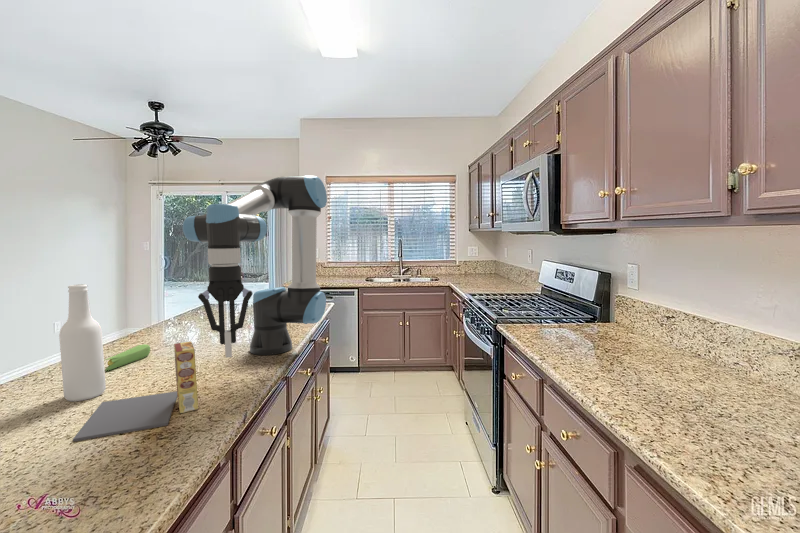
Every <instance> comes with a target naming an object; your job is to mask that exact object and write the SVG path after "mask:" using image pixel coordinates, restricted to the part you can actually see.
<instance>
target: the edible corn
mask: <svg viewBox="0 0 800 533" xmlns="http://www.w3.org/2000/svg"><path fill="white" fill-rule="evenodd" d="M150 353H151V346H150V345H149V344H144V343H143V344H138V345H135V346H134V347H132V348H130V349H126V350H124V351H122V352H119V353H118V354H115V355H112V356H110V357H108V358H104V361H106V360H108V361H107V367H106V368H104V369H105V372H106V373H107V372H109V370H110V371H112V370H114V369H117V367H118V368H121V367H124V366H126V365H128V363H129V364H131V363H134V362H136V360H137V361H140V360H143V359H145V358H147V357H148V356H149V355H150ZM146 356H147V357H146ZM144 357H145V358H144ZM139 359H140V360H139ZM120 366H121V367H120ZM107 370H108V371H107Z"/></svg>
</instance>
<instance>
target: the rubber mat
mask: <svg viewBox="0 0 800 533" xmlns="http://www.w3.org/2000/svg"><path fill="white" fill-rule="evenodd" d="M177 401H178V395H177V390H176V391H170V392H161V393H155V394H150V395H141V396H135V397H128V398H127V397H126V398H121V399H114V400H108V401H107V400H106V401H102V402H100V405H98V407H97V408H96V409H95V410H94V412H93V413H92V415H90V416H89V418H88V419H87V421H86V422H85V423H84V424H83V426H82V427H81V428H80V429H79V431H78V432H77V433H76V434H75V436H74V437H73V438H72V442H73V441H75V442H78V441H84V440H85V441H86V440H91V438H92V439H97V438H96V437H98V438H103V437H107V436H106V435H109V436H114V434H115V435H120V433H121V434H126V433H130V432H137V431H143V430H149V429H154V428H160V427H165V426H167V427H168V425H169V423H170V419H171V416H172V413H173V411H174V408H175V405H176V402H177ZM102 436H103V437H102Z"/></svg>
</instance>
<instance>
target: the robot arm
mask: <svg viewBox="0 0 800 533" xmlns="http://www.w3.org/2000/svg"><path fill="white" fill-rule="evenodd" d="M327 203H328V196H327V190H326V186H325V184H324V182H323V181H322V179H321V178H320V177H318V176H317V175H306V174H305V175H294V176H279V177H278V176H277V177H275V178H271V179H268V180H266V181H264V182H262V183H260V184H257V185H255V186H253V187H252V188H251V189H250V191H249V192H248V193H246V194H244V195H241V196H240V197H237V198H236V199H234V200H232V201H230V202H227V203H211V204H209V205H207V207H206V213H205V214H201V215H199V214H198V215H197V214H196V215H192V216H191V215H190V216H187V217H186V218H185V219H184V220H183V222H182V232H183V235H184V237H185V238H186V239H187V240H189V241H190V242H194V243H201V244H202V243H207V258H208V259H207V262H208V263H207V264H209V265H210V266H209V268H208V286H207V289H206V290H205V291H203V292H200V293H199V294H198V296H197V297H198V299H199V300H200V301H201V303H202V304H203V307H204V310H205V313H206V318H207V319H208V322H209V325H210V328H211V329H210V330H212V331H214V332H218V334H219V344H220V345H224V348H225V349H224V352H225V353H224V354H225V356H224V357H225V358H232V357H233V351H232V349H233V347H232V344H236V343H237V330H239V329H243V327H244V324H245V320H246V319H245V318H246V315H247V314H246V313H247V309H248V305H249V302H250V301H249V300H250V299H251V297H252V296H253V297H252V308H253V310H252V312H253V328H254V329H253V330H254V331H253V333H252V337H251V340H250V343H249V352H250V353H251V354H253V355H256V356H257V355H258V356H269V355H278V354H283V353H286V352H289V351H291V350H292V349H293V341H292V338H291V336H290V333H289V330H288V328H287V327H288V326H287V324H303V325H309V324H311V325H312V324H313V325H314V324H317V323H319V322H320V321H321V319H322V318H323V316H324V314H325V311H326V305H327V297H326V294H325V293H324V291H321V286H320V284H318V283H317V225H318V224H317V218H318V217H319V216H320V215H321V213H322V212H321V210H322V209H323V208H325V207H326V205H327ZM277 209H278V210H279V209H288V210H287V211H288V212H287V213H288V214H289V215H291V217H292V240H291V241H292V243H291V244H292V246H291V248H292V252H291V254H292V255H291V258H292V259H291V261H292V264H291V266H292V268H291V273H292V274H291V283H289V285H288V286H287V288H286V287H284V286H279V287H273V288H272V287H271V288H266V289H260V290H256V291H255V292H253V291H252V290H249V289H247V288H246V287H244V284H243V281H242V267H241V265H240V264H241V263H242V262H241V261H242V260H241V242H247V243H248V242H249V243H255V242H259V241H262V240H263V239H264V238H265V236H266V235H267V232H268V226H267V223H266V221H265V219H263V218H262V217H261V216H258V214H260V213H262V212H264V213H265V212H269V211H271V210H277ZM241 293H242V297H243V299H242V303H241V309H240V312H239V317H238V322H237V323H236V308H235V307H236V306H235V301H236V300H237V299H238V297H239V296H240V295H241ZM210 295H211V297H213V299H214V300H216V302H217V303H218V304H217V306H218V324H217V321H216V318H215V315H214V312H213V310H212V306H211V303H210V300H209V299H210ZM225 302H228V304H229V323H230V324H229V325H230V329H225V328H226V325H225Z"/></svg>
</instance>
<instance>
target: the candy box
mask: <svg viewBox="0 0 800 533" xmlns="http://www.w3.org/2000/svg"><path fill="white" fill-rule="evenodd" d="M193 344H194V343H192V341H185V342H178V343H173V346H174V348H173V350H174V365H175V367H174V368H175V381H176V391H177V395H178V397H177V404H178V408H179V413H180V414H184V413H189V412H192V411H196V410H199V398H198V384H197V383H198V382H197V366H196V354H195V353H196V352H195V350H196V349H195V347H194V345H193Z"/></svg>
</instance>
